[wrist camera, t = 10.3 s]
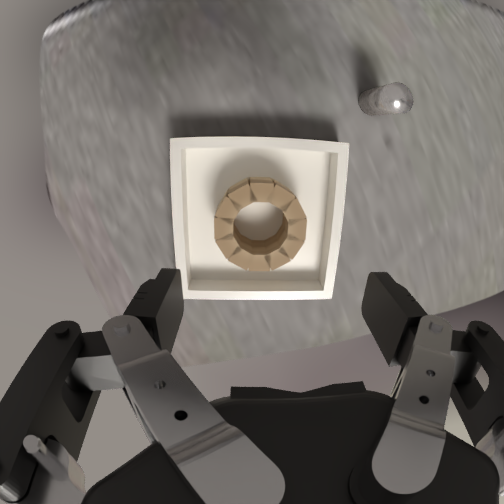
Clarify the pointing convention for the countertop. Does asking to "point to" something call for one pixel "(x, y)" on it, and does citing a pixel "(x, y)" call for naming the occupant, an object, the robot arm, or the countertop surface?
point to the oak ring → (259, 251)
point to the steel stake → (386, 100)
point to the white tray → (256, 214)
